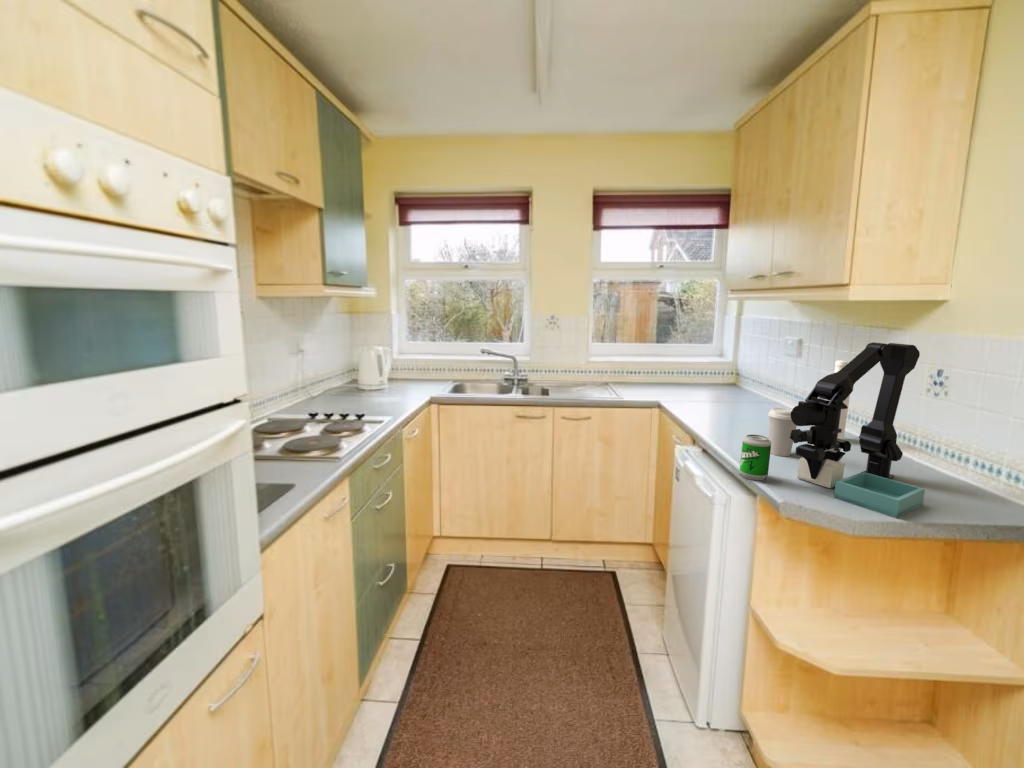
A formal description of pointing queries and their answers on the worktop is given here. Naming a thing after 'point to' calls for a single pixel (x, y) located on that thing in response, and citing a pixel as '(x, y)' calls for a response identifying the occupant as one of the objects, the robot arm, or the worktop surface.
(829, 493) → the worktop surface
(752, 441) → the soda can
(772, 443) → the coffee cup
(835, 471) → the small crate
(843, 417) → the bottle
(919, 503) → the big crate
